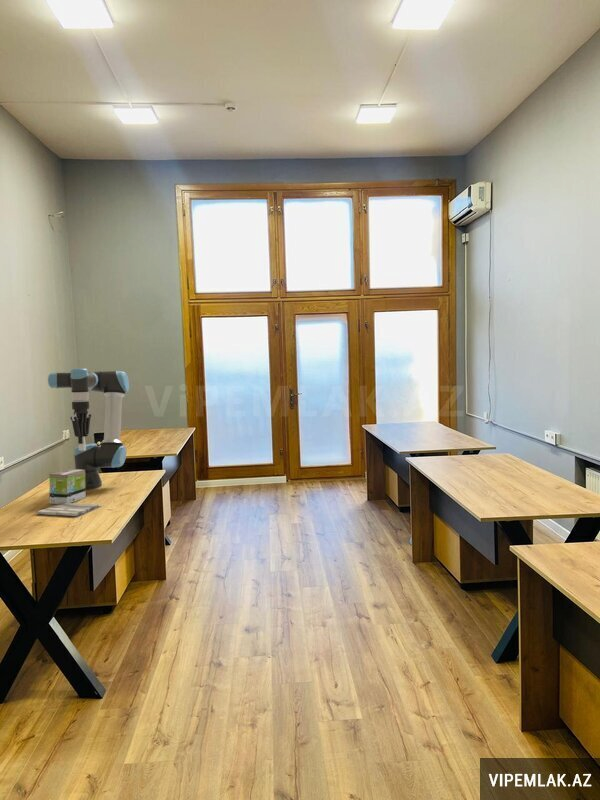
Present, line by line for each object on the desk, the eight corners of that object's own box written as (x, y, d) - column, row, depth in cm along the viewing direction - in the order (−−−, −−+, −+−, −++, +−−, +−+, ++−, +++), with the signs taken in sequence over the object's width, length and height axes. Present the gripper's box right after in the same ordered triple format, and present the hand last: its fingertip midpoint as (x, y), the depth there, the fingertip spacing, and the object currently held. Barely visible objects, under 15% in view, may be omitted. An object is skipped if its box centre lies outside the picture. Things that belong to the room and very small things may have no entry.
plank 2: (68, 511, 243) (68, 508, 243) (86, 512, 241) (86, 509, 241) (56, 514, 235) (56, 512, 235) (75, 516, 233) (75, 513, 233)
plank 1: (49, 510, 245) (49, 507, 245) (67, 511, 243) (67, 508, 243) (37, 513, 237) (37, 511, 237) (55, 514, 235) (55, 512, 235)
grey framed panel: (62, 504, 256) (62, 503, 256) (102, 506, 251) (102, 506, 251) (34, 515, 237) (34, 515, 237) (77, 518, 232) (77, 517, 232)
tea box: (67, 505, 253) (66, 474, 253) (49, 504, 255) (48, 473, 255) (86, 497, 268) (85, 468, 267) (68, 497, 270) (67, 468, 269)
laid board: (61, 505, 253) (60, 502, 253) (98, 507, 249) (98, 504, 249) (49, 509, 246) (49, 507, 246) (88, 511, 241) (87, 509, 241)
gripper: (81, 400, 259) (83, 447, 260) (64, 402, 246) (66, 452, 248) (95, 400, 257) (97, 448, 259) (78, 402, 244) (80, 452, 246)
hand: (82, 450), depth 253 cm, fingers closed
